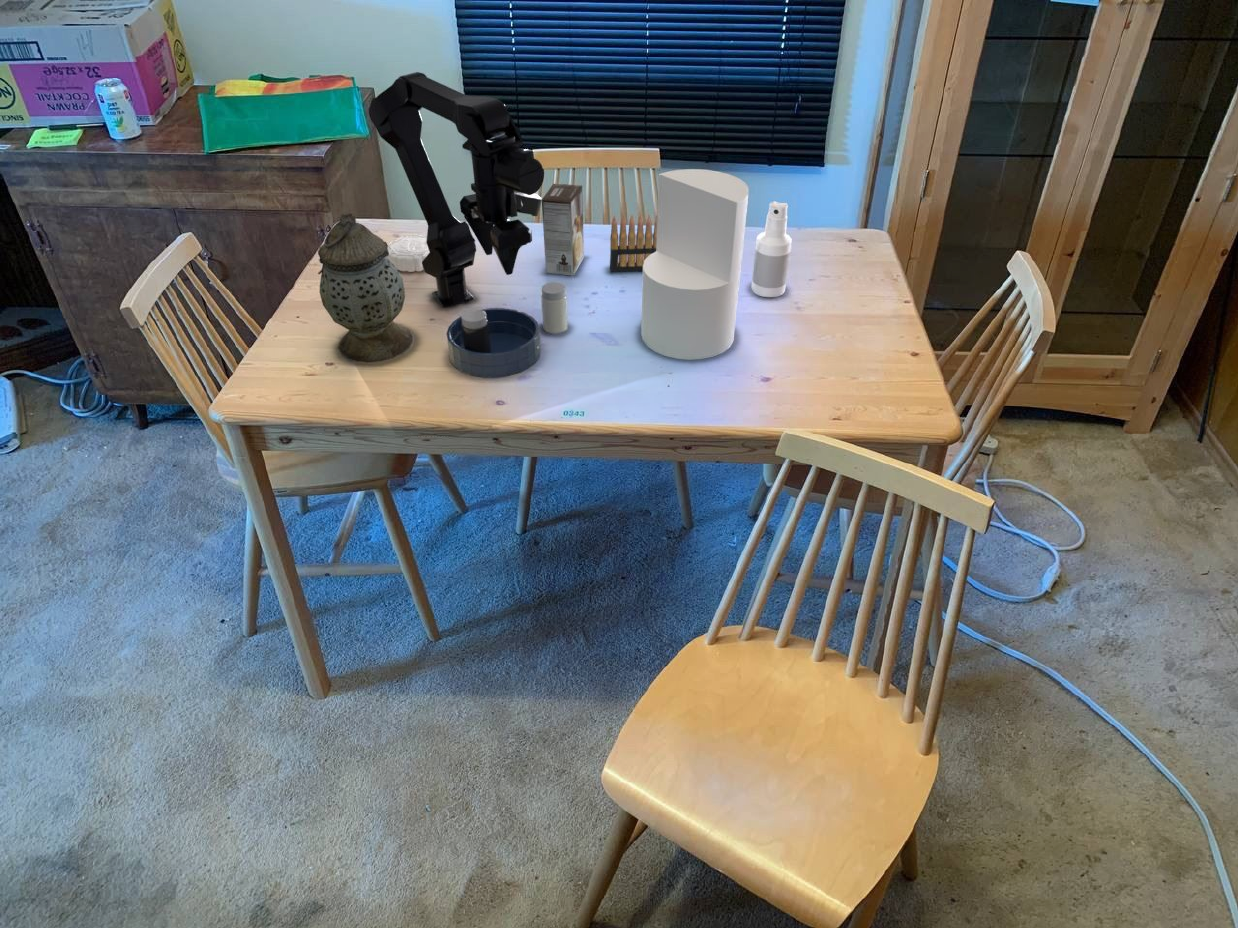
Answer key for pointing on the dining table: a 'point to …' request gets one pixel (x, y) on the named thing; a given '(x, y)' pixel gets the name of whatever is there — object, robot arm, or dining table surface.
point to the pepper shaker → (476, 331)
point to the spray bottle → (772, 254)
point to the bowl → (498, 345)
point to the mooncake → (408, 252)
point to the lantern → (363, 292)
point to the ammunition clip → (631, 245)
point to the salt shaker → (554, 308)
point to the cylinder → (694, 264)
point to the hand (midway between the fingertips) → (499, 264)
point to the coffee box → (563, 228)
